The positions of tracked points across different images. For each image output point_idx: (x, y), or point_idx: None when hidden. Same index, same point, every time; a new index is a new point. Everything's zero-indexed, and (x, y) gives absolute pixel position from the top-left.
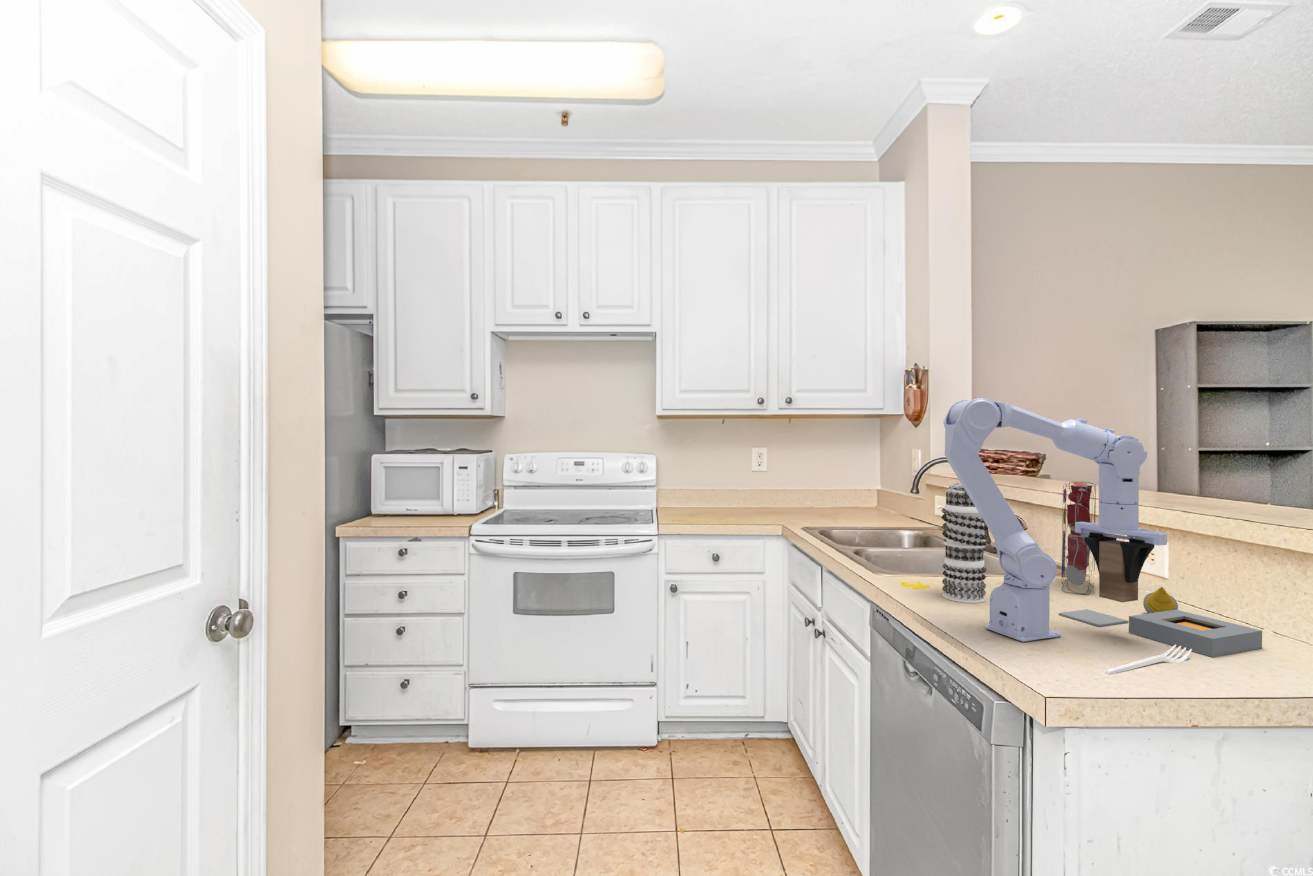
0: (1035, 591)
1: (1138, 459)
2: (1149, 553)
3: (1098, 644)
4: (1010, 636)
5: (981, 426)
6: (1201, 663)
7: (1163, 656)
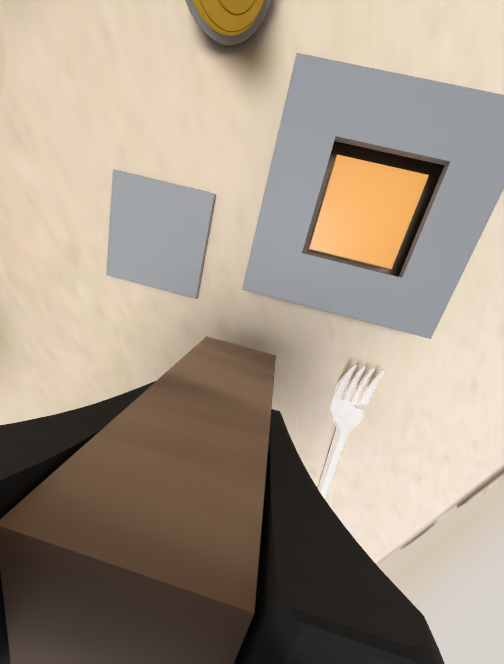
0: None
1: None
2: (357, 546)
3: None
4: None
5: None
6: (396, 383)
7: (340, 398)
